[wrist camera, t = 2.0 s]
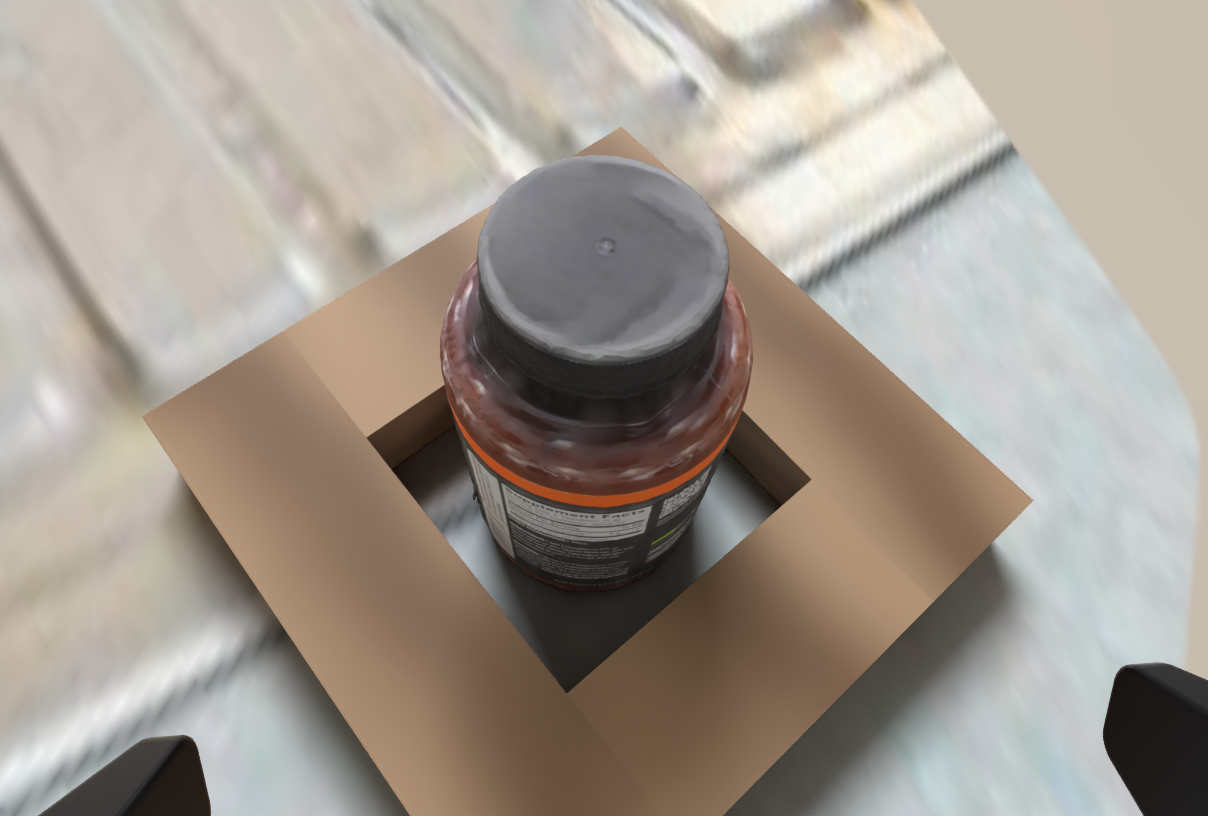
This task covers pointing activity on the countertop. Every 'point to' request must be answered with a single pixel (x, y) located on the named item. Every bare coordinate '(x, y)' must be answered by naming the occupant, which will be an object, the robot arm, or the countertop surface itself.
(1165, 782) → the robot arm
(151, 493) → the countertop surface
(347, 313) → the square wooden frame
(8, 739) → the countertop surface
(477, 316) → the supplement bottle
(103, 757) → the countertop surface
